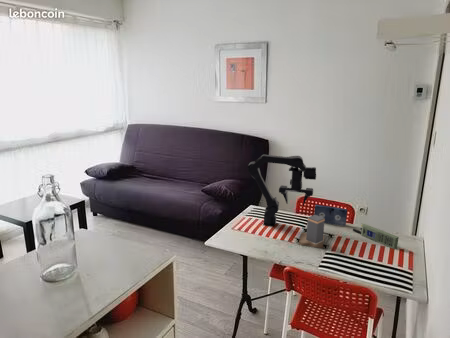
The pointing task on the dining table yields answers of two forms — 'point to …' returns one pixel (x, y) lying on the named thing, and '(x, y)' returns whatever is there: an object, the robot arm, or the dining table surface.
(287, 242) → the dining table surface
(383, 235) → the handheld radio
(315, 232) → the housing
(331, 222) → the vhs cassette tape
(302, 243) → the board
